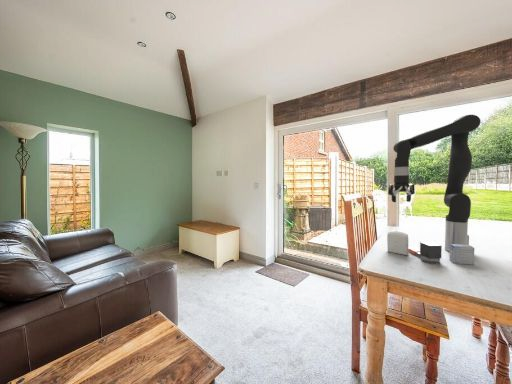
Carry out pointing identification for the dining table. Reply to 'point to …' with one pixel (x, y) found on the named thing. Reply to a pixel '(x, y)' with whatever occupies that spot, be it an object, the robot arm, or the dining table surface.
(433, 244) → the dark grey metal cube
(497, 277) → the dining table surface
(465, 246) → the medicine box
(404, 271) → the dining table surface
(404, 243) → the photo printer
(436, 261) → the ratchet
